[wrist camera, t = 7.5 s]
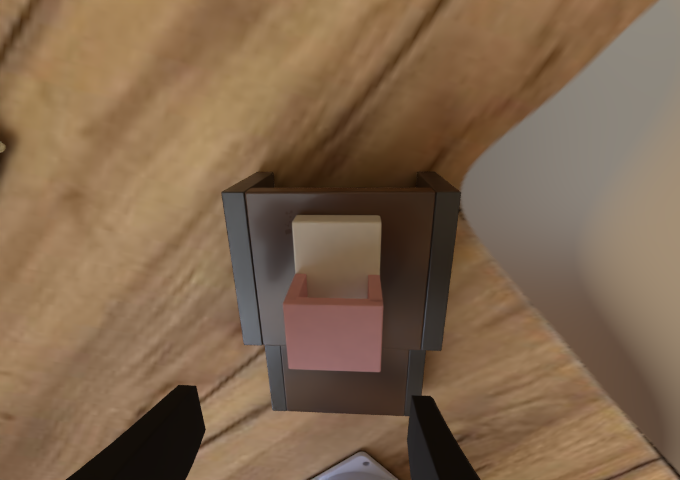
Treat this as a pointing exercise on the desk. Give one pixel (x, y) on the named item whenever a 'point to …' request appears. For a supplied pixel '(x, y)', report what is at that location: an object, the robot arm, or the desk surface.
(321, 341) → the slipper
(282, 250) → the dark stepped block
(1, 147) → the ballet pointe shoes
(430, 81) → the desk surface
